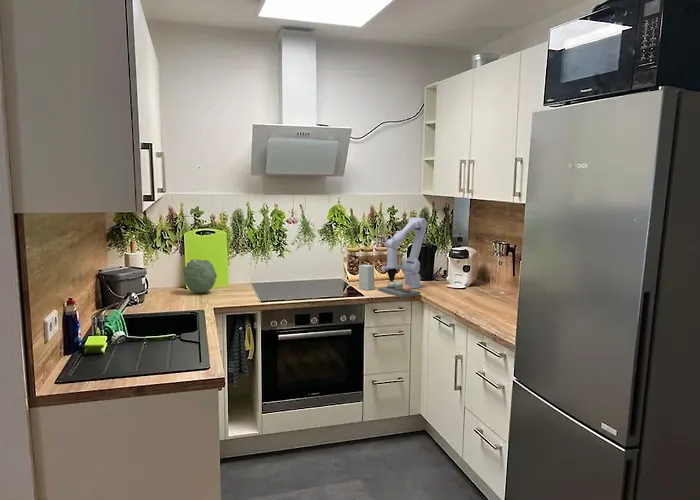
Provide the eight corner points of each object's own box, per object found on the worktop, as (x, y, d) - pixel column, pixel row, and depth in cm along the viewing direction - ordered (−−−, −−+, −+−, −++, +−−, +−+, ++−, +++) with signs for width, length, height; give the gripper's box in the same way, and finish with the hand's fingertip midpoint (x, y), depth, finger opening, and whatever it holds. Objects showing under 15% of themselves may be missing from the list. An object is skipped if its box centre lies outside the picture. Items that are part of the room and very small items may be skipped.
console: (396, 288, 315) (396, 284, 315) (419, 295, 297) (420, 291, 297) (378, 290, 307) (378, 287, 307) (401, 297, 289) (401, 294, 289)
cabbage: (215, 295, 288) (214, 261, 285) (180, 296, 285) (179, 261, 283) (219, 290, 303) (218, 257, 300) (186, 290, 301) (185, 257, 298)
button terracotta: (406, 289, 299) (407, 284, 299) (411, 291, 295) (411, 286, 295) (401, 290, 297) (401, 285, 296) (406, 291, 293) (406, 286, 293)
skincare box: (374, 289, 311) (375, 265, 309) (367, 290, 307) (368, 266, 305) (364, 287, 317) (365, 263, 315) (358, 288, 313) (358, 264, 311)
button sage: (399, 285, 305) (399, 280, 304) (404, 286, 301) (404, 281, 301) (393, 286, 302) (393, 281, 302) (398, 287, 299) (398, 282, 298)
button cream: (391, 285, 311) (392, 280, 310) (396, 286, 307) (396, 281, 307) (386, 286, 308) (386, 281, 308) (390, 287, 304) (390, 282, 304)
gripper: (397, 257, 313) (396, 278, 314) (378, 259, 305) (378, 281, 306) (404, 258, 307) (404, 280, 309) (385, 260, 299) (385, 283, 301)
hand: (391, 281), depth 307 cm, fingers closed
